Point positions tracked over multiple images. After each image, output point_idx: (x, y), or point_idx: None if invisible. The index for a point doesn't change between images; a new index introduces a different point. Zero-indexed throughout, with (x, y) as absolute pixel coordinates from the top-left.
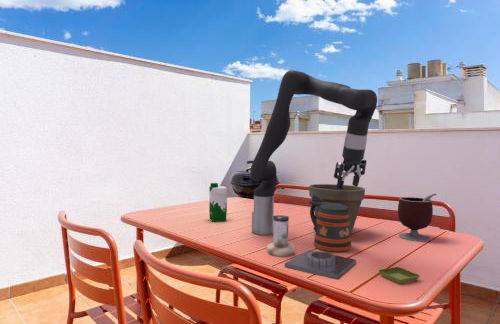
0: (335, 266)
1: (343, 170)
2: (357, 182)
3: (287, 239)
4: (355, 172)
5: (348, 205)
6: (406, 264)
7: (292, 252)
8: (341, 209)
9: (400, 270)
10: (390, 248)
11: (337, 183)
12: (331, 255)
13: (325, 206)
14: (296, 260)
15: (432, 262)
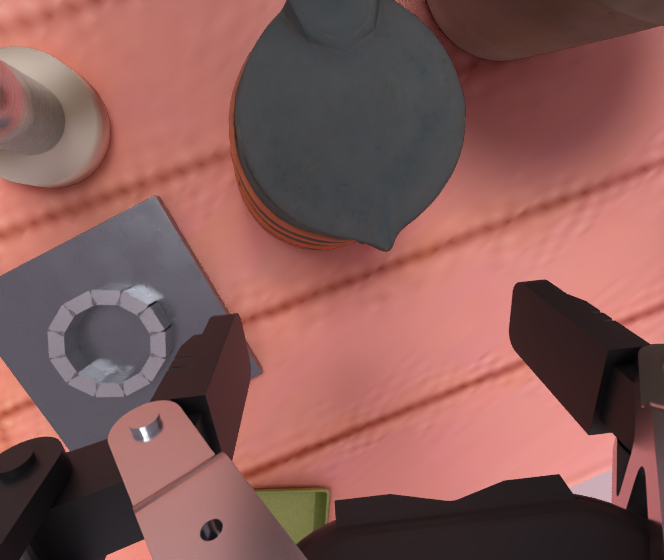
0: (134, 403)
1: (270, 538)
2: (540, 377)
3: (24, 142)
4: (625, 476)
5: (595, 15)
6: (407, 442)
7: (76, 179)
8: (333, 231)
9: (322, 499)
10: (511, 292)
11: (166, 380)
12: (149, 360)
13: (261, 118)
14: (25, 289)
15: (497, 459)
